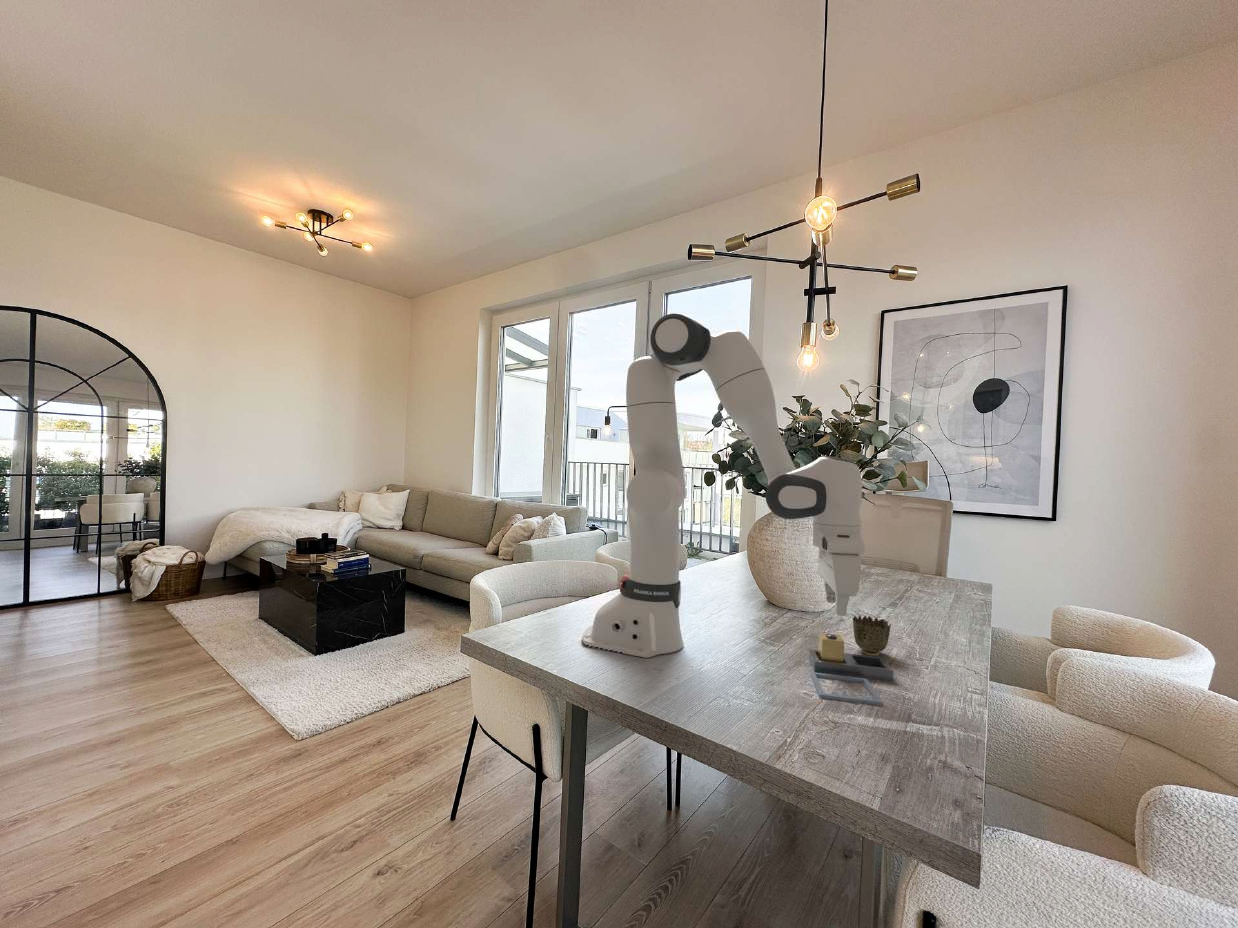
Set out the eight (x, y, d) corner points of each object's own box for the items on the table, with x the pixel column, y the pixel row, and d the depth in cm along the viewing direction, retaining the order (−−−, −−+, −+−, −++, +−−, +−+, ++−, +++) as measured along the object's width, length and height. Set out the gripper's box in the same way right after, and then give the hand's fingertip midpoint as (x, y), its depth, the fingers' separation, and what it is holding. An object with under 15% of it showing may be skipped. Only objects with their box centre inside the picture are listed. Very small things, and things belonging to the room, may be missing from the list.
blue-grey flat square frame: (819, 703, 87) (819, 694, 87) (809, 679, 97) (810, 671, 97) (882, 711, 85) (882, 702, 85) (866, 686, 95) (866, 678, 95)
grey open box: (814, 677, 98) (814, 661, 98) (808, 663, 105) (808, 649, 105) (892, 686, 96) (893, 670, 96) (881, 672, 102) (882, 657, 102)
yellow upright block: (821, 669, 100) (822, 637, 100) (817, 662, 104) (818, 631, 104) (842, 672, 99) (844, 640, 99) (838, 664, 103) (839, 633, 103)
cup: (894, 665, 106) (895, 627, 106) (856, 661, 108) (857, 623, 108) (883, 652, 114) (884, 617, 114) (847, 649, 115) (849, 613, 115)
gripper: (811, 531, 112) (810, 594, 112) (829, 544, 92) (828, 621, 92) (841, 532, 111) (840, 596, 111) (867, 546, 91) (866, 624, 91)
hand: (835, 608), depth 101 cm, fingers open, 8 cm apart
